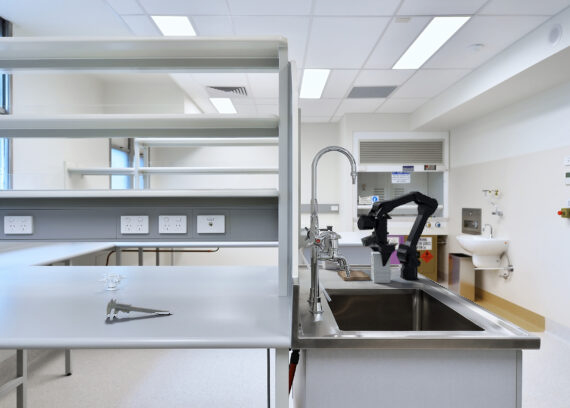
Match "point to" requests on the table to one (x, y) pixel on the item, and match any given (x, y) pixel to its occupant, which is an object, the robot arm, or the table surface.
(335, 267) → the soap dispenser
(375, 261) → the supplement box
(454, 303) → the table surface
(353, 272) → the walnut coaster
